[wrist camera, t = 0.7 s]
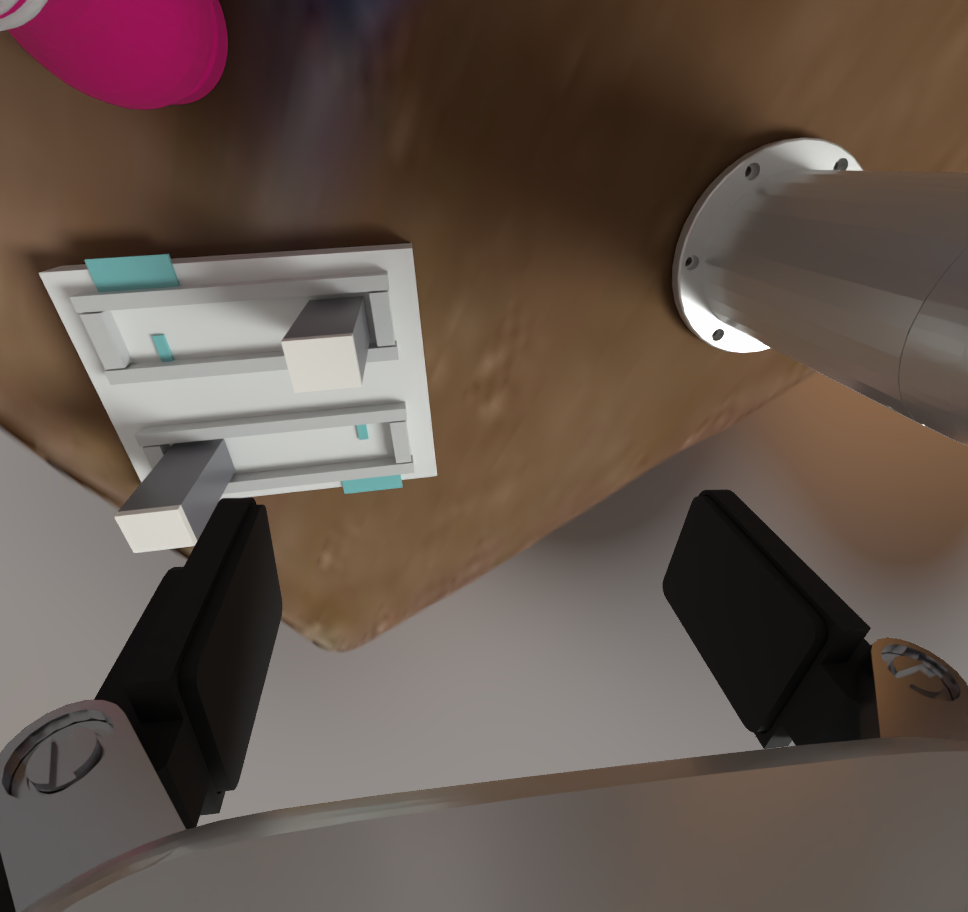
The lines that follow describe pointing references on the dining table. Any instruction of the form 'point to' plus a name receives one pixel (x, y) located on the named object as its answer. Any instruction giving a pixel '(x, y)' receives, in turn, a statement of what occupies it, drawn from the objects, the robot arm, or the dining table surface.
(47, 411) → the dining table surface
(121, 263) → the switch board
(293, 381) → the tab
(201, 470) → the tab
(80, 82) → the pepper mill
